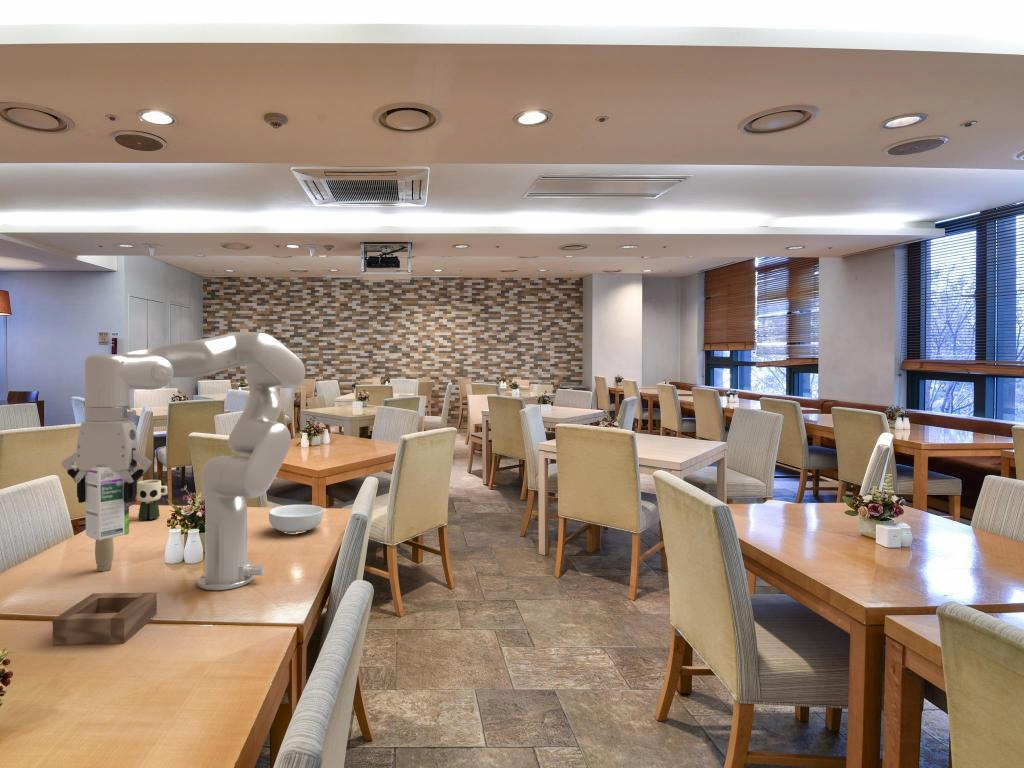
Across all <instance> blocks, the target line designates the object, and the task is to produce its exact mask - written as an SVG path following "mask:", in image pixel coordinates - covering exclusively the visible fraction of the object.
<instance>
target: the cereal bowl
mask: <svg viewBox="0 0 1024 768" xmlns="http://www.w3.org/2000/svg"><path fill="white" fill-rule="evenodd" d="M323 516H324V508H323V507H321V506H319V505H313V504H287V505H281V506H277V507H273V508H271V509H270V510H269V511H268V520H269V524H270V525H271V526H272V527H273V528H274V529H275V530H278V531H280V532H282V533H283V532H287V533H296V532H303V531H307V530H309V531H310V530H313V529H314V528H317V527H318V526H319V525H320V524H321V522H322V520H323Z"/></svg>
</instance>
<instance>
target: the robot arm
mask: <svg viewBox="0 0 1024 768" xmlns="http://www.w3.org/2000/svg"><path fill="white" fill-rule="evenodd" d="M238 367H239V368H240V367H245V372H244V373H245V379H246V382H247V386H248V390H249V400H248V402H247V404H246V407H245V409H244V410H243V412H242V413H241V416H239V419H238V420H237V422H236V424H235V425H234V426H233V429H232V430H231V433H230V434H229V435H228V441H227V445H228V448H229V449H230V451H231V452H232V453H234V454H236V455H238V456H235V455H219V456H214V457H212V458H211V459H209V460H208V461H206V463H205V464H204V465H203V467H202V469H201V473H200V484H201V489H202V494H203V498H204V507H205V508H204V512H205V513H204V514H205V515H204V517H205V522H204V523H205V525H204V531H205V533H204V574H203V575H201V576H200V577H199V578H198V579H197V586H198V588H200V589H202V590H208V591H225V590H231V589H237V588H239V587H242V586H245V585H247V584H249V583H250V582H252V581H253V580H254V576H263V575H264V574H265V568H264V567H263V566H262V565H261V564H260V565H259V564H258V565H256V564H255V565H253V564H251V563H252V561H251V559H248V507H247V502H246V499H245V498H248V499H249V498H250V499H256V498H260V497H261V496H263V495H265V493H266V492H267V491H268V490H269V489H270V487H271V485H272V484H273V482H274V480H275V478H276V477H277V474H278V472H279V470H280V468H281V467H282V465H283V463H284V461H285V459H286V457H287V455H288V453H289V451H290V448H291V443H292V442H291V441H292V437H291V433H290V430H289V428H288V427H287V425H285V424H283V423H281V422H279V421H278V419H279V417H280V415H281V413H282V401H281V399H280V395H279V392H278V390H277V389H295V388H298V387H299V386H300V385H301V384H302V383H303V382H304V381H305V379H306V367H305V365H304V363H303V361H302V360H301V359H300V358H299V357H298V356H297V355H296V354H295V353H294V352H292V351H291V350H290V349H288V347H286V345H284V344H282V342H280V341H279V340H278V339H276V338H275V337H273V336H272V335H269V333H266V332H260V331H259V332H258V331H256V332H253V331H252V332H250V331H249V332H247V331H241V332H240V331H239V332H230V333H226V334H221V335H217V336H211V337H207V338H200V339H196V340H190V341H189V340H188V341H184V342H178V343H174V344H167V345H162V346H160V345H159V346H154V347H153V346H152V347H149V348H142V349H137V350H132V351H126V352H122V353H118V354H110V353H109V354H108V353H107V354H106V353H105V354H102V353H99V354H97V353H96V354H94V353H93V354H89V355H88V356H87V357H85V360H84V421H82V422H81V423H80V427H79V431H78V436H77V442H76V450H75V451H76V452H74V453H73V454H72V455H70V456H69V457H67V458H65V459H63V460H62V461H61V466H63V468H64V470H65V471H67V475H68V476H69V477H71V478H72V479H73V482H74V483H75V484H76V498H77V499H78V500H77V502H78V504H82V503H86V501H85V475H86V473H87V472H89V471H91V468H93V466H102V467H110V468H111V470H112V471H114V472H121V474H122V475H123V476H124V478H125V479H126V481H127V483H124V502H125V503H129V504H130V503H131V502H134V501H135V500H136V498H137V497H136V496H137V482H139V481H140V479H141V478H142V477H143V476H144V475H145V474H147V471H148V470H149V468H150V467H151V465H153V461H152V460H151V459H149V458H148V457H146V456H145V455H143V454H141V453H140V450H139V449H140V448H139V447H140V446H139V440H138V439H139V438H138V433H137V429H136V425H135V422H134V421H130V419H131V418H132V417H136V415H137V410H134V409H131V406H130V402H131V401H130V396H131V395H130V393H131V391H130V389H132V390H134V389H135V390H145V391H146V390H147V391H149V390H150V391H153V390H159V389H162V388H164V387H166V386H168V385H169V384H170V383H171V382H172V380H173V379H174V378H196V377H204V376H205V377H206V376H209V375H212V374H217V373H219V372H223V371H226V370H231V369H234V368H238ZM139 464H140V465H139ZM138 466H139V467H138ZM137 467H138V469H137V470H136V469H135V468H137Z"/></svg>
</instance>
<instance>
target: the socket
mask: <svg viewBox="0 0 1024 768" xmlns="http://www.w3.org/2000/svg"><path fill="white" fill-rule="evenodd" d="M157 595H158V594H157V591H156V592H155V591H153V592H152V591H151V592H105V593H103V592H101V593H99V592H98V593H91V594H90V595H87V597H85V598H84V599H82V600H80V601H79V602H77V603H76V604H74V605H72V606H71V607H70V608H68V609H66V610H65V611H64V612H62V613H60V614H59V615H57V616H56V617H55V618H53V619H52V646H65V645H66V646H68V645H69V646H70V645H71V646H73V645H74V646H75V645H103V644H102V643H104V645H105V644H107V645H109V643H113V644H125V643H127V641H129V640H130V639H131V638H132V637H134V635H136V634H137V633H138V632H139V631H140V630H142V629H143V628H144V627H145V626H146V625H147V624H148V623H150V622H151V621H152V620H151V618H153V617H154V616H155V615H156V614H158V609H157V606H158V604H157V603H158V596H157ZM156 616H157V615H156ZM156 616H155V617H156ZM155 617H154V618H155ZM154 618H153V619H154ZM128 639H129V640H128Z"/></svg>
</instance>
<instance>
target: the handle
mask: <svg viewBox="0 0 1024 768" xmlns="http://www.w3.org/2000/svg"><path fill="white" fill-rule="evenodd" d="M94 545H95V546H94V555H95V563H96V571H97V572H107V571H110V570H112V566H113V564H112V563H113V559H114V550H115V549H114V537H112V538H107V539H103V540H96V539H95V544H94Z"/></svg>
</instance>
